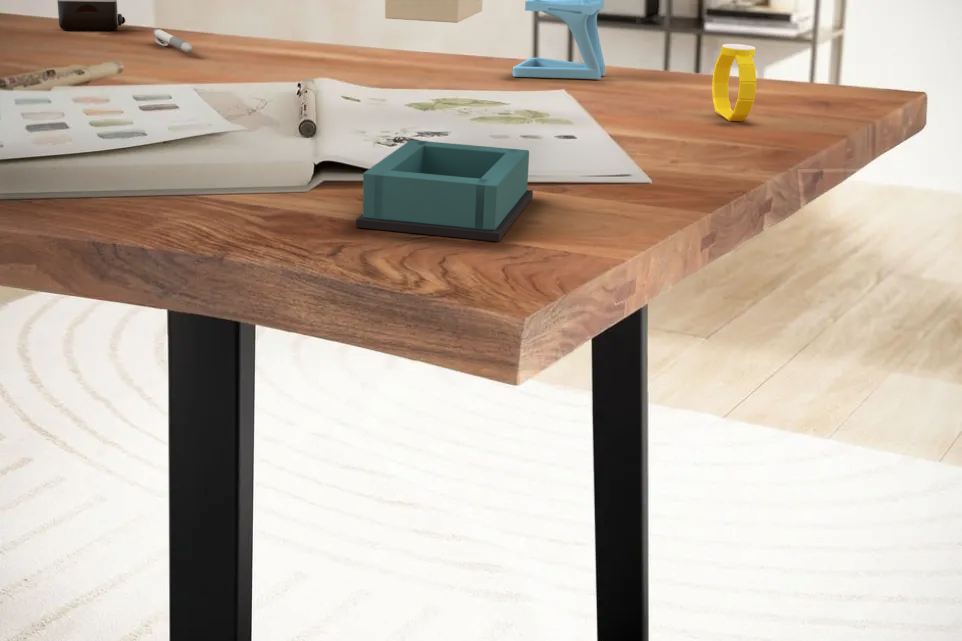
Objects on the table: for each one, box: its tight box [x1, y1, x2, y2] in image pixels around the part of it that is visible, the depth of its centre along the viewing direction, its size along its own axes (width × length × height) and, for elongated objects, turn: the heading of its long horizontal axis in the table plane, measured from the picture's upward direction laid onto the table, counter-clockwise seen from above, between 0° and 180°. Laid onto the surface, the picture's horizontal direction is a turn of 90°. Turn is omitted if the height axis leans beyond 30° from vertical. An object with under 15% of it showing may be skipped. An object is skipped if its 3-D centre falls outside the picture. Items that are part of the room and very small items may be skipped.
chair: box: [512, 0, 606, 80], centre depth 119 cm, size 8×8×12 cm
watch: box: [711, 43, 757, 122], centre depth 101 cm, size 6×3×6 cm, turn 12°
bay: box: [355, 139, 534, 243], centre depth 70 cm, size 10×8×3 cm
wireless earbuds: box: [56, 0, 127, 32], centre depth 139 cm, size 5×7×3 cm, turn 105°
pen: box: [152, 28, 194, 53], centre depth 127 cm, size 1×14×1 cm, turn 29°
